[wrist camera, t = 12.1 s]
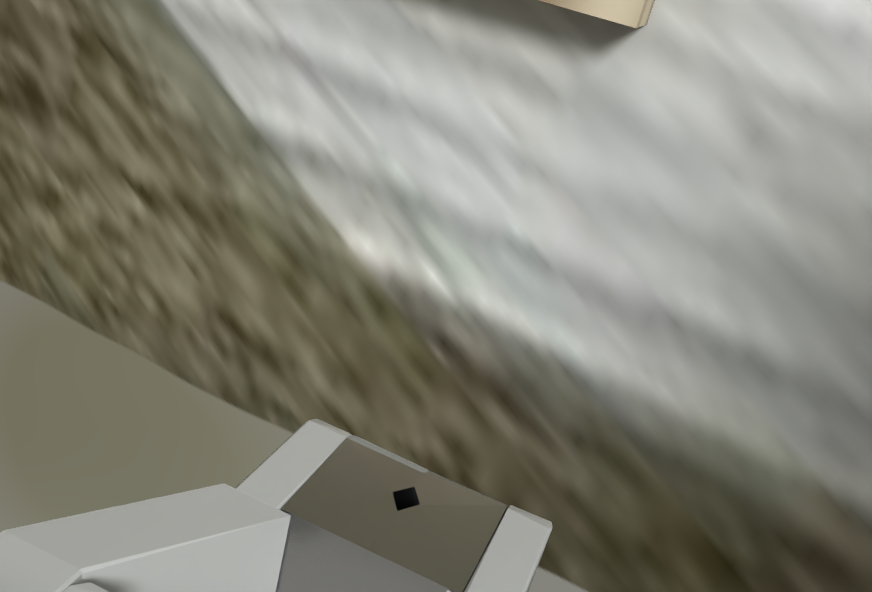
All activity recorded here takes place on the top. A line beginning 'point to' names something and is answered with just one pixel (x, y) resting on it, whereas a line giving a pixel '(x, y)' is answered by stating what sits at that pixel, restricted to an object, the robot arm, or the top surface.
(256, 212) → the top surface
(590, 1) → the twin tan bars
